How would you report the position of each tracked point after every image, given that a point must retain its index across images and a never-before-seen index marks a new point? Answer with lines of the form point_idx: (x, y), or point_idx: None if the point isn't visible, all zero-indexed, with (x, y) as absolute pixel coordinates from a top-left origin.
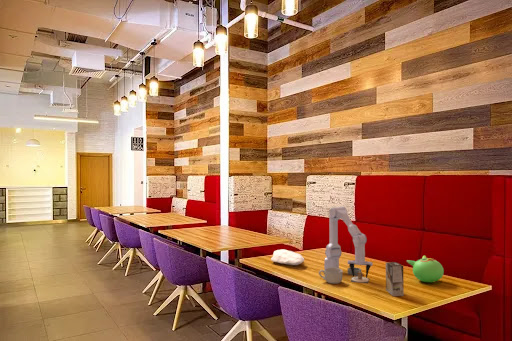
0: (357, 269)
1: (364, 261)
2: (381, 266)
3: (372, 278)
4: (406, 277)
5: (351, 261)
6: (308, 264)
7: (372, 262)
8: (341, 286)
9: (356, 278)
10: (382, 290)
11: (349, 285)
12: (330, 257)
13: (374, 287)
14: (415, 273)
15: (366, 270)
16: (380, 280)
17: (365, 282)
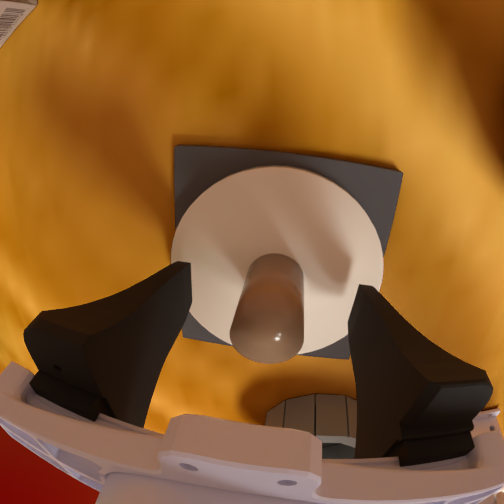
0: None
1: (99, 495)
2: None
3: (166, 357)
4: (28, 367)
5: (462, 495)
6: None
7: (8, 430)
8: (480, 11)
9: (321, 285)
10: (56, 5)
11: (410, 43)
12: (498, 498)
13: (109, 51)
14: None
15: (128, 309)
16: None
17: (206, 182)
